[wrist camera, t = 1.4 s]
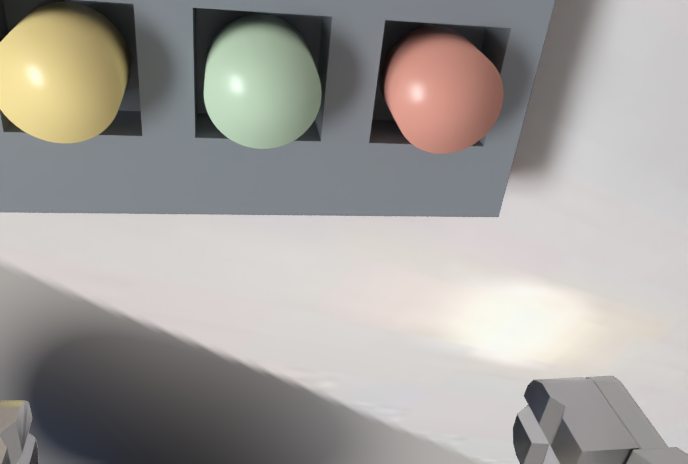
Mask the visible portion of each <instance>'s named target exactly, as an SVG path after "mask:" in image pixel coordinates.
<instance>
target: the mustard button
mask: <svg viewBox="0 0 688 464" xmlns="http://www.w3.org/2000/svg"><path fill="white" fill-rule="evenodd" d="M130 73H131V57H130V52H129V49H128V46H127V44H126V41H125V39H124V38H123V36H122V34H121V33H120V31H119V30H118V29H117V27H116V26H115V25H114V24H113V23H112V22H111V21H110V20H109V19H108V18H106V17H105V16H104V15H102V14H101V13H99V12H98V11H96V10H94V9H92V8H90V7H87V6H85V5H82V4H78V3H73V2H52V3H48V4H44V5H41V6H39V7H37V8H35V9H34V10H32V11H31V12H29V13H28V14H27V15H26V16H25V17H24V18H23V19H22V20H21V21H20V22H19V23H18V24H17V25H16V26H15V27H14V28H13V29H12V30H11V31H10V32H9V33H8V35H7V36H6V37H5V38H4V39H3V40H2V41H1V42H0V109H1V111H2V112H3V114H4V115H5V116H6V117H7V118H8V119H9V120H10V121H11V122H12V123H13V124H15V125H16V126H17V127H18V128H20V129H21V130H23V131H24V132H26V133H28V134H30V135H32V136H34V137H36V138H39V139H42V140H45V141H49V142H54V143H77V142H82V141H86V140H88V139H91V138H93V137H95V136H97V135H99V134H100V133H101V132H103V131H104V130H105V129H106V128H107V127H108V126H109V125H110V124H111V123H112V121H113V120H114V118H115V116H116V114H117V112H118V109H119V107H120V104H121V101H122V98H123V95H124V93H125V90H126V87H127V84H128V81H129V78H130Z"/></svg>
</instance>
